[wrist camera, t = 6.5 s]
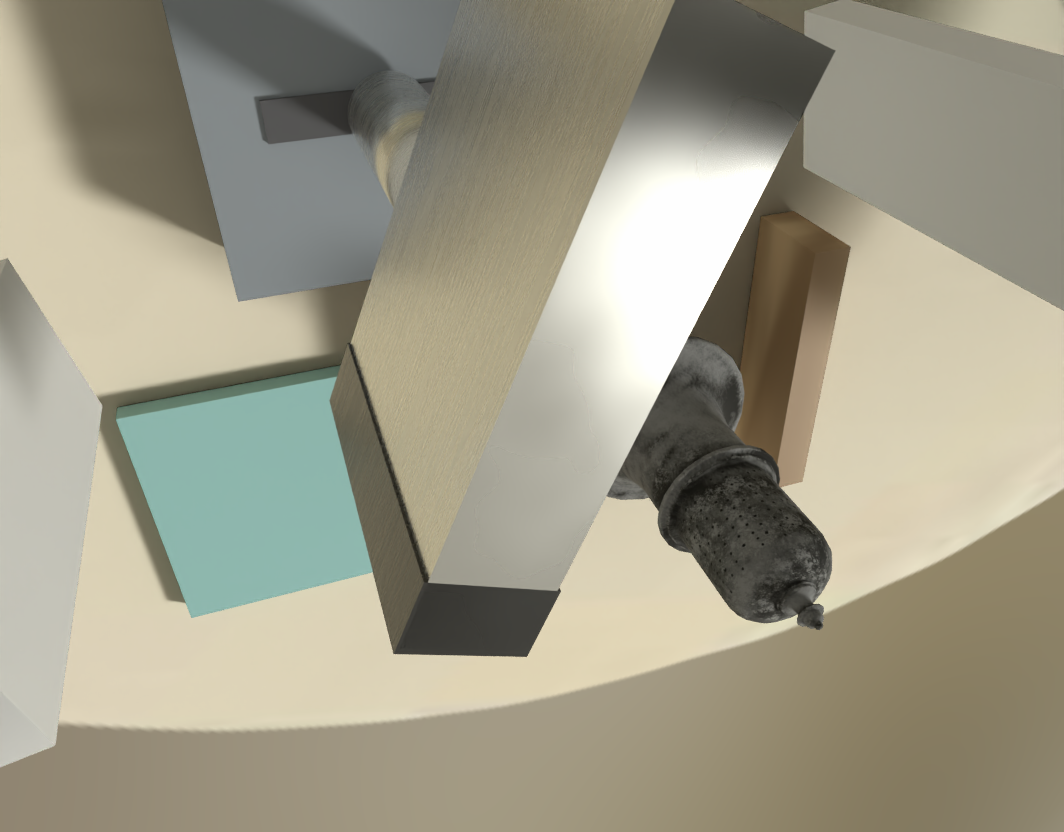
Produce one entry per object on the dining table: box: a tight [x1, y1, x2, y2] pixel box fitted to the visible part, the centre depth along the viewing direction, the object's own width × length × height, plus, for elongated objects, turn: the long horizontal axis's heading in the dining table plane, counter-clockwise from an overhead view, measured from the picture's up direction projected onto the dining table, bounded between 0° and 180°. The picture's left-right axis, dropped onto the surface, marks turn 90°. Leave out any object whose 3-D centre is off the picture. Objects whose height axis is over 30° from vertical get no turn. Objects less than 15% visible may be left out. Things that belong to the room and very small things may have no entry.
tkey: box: [329, 0, 835, 657], centre depth 14 cm, size 8×2×11 cm, turn 156°
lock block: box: [162, 0, 461, 302], centre depth 20 cm, size 8×8×3 cm
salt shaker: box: [607, 337, 832, 630], centre depth 24 cm, size 6×6×12 cm
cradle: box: [734, 211, 850, 487], centre depth 27 cm, size 12×9×3 cm
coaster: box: [116, 365, 373, 618], centre depth 27 cm, size 8×8×1 cm
